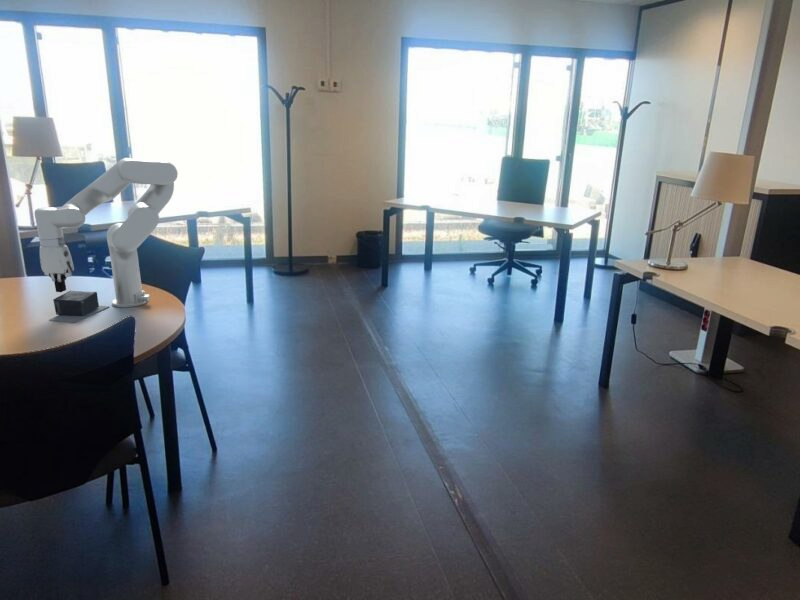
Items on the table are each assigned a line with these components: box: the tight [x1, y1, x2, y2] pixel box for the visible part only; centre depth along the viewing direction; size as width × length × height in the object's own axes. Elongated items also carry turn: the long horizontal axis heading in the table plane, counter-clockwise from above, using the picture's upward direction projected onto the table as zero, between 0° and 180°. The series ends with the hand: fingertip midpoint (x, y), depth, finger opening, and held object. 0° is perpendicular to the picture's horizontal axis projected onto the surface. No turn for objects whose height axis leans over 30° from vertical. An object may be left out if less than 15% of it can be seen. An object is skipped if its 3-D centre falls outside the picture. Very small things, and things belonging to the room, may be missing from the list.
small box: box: [53, 290, 100, 316], centre depth 204 cm, size 11×6×10 cm
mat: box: [48, 305, 110, 324], centre depth 203 cm, size 10×18×1 cm, turn 169°
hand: (61, 291), depth 202 cm, fingers closed
